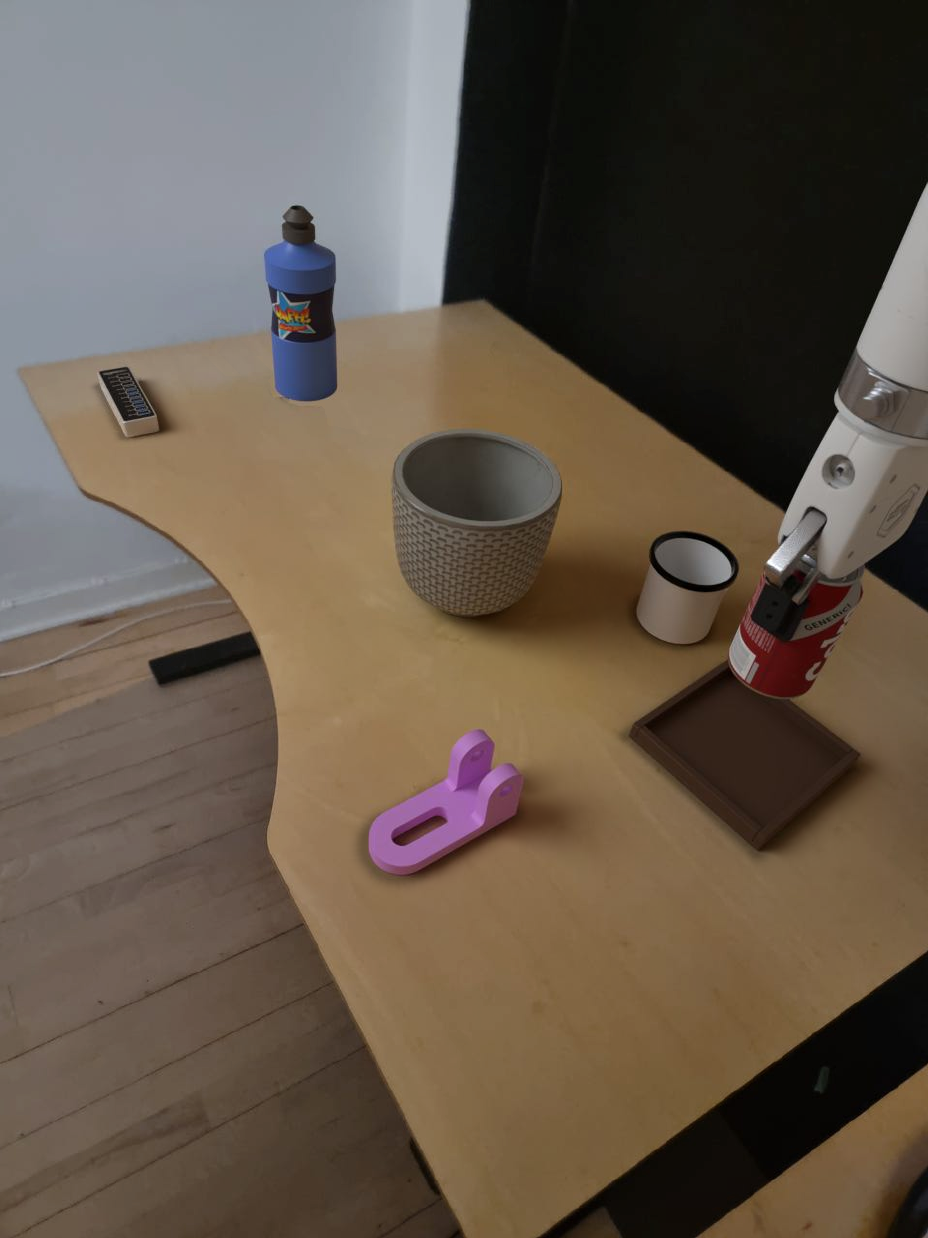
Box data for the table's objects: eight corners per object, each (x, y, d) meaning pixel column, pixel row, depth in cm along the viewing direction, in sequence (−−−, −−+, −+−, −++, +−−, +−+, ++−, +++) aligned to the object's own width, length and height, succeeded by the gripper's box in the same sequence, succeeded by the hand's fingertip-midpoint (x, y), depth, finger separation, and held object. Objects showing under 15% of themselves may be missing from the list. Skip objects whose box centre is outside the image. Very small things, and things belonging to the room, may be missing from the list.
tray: (852, 766, 83) (861, 753, 81) (757, 851, 75) (764, 839, 73) (726, 668, 91) (732, 655, 89) (628, 736, 83) (632, 723, 81)
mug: (664, 659, 91) (687, 597, 84) (614, 603, 97) (632, 541, 90) (748, 629, 95) (776, 568, 89) (696, 577, 101) (718, 516, 95)
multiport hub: (126, 437, 112) (122, 422, 110) (99, 385, 120) (96, 370, 118) (160, 431, 113) (157, 415, 112) (131, 380, 122) (128, 365, 120)
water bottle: (323, 407, 121) (317, 226, 104) (263, 393, 122) (246, 212, 105) (347, 377, 128) (345, 202, 110) (290, 364, 129) (279, 189, 112)
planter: (432, 526, 104) (441, 410, 93) (562, 575, 99) (588, 460, 88) (358, 609, 92) (358, 488, 81) (502, 669, 88) (523, 550, 77)
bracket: (479, 770, 78) (487, 723, 74) (515, 814, 75) (526, 768, 71) (356, 835, 72) (356, 789, 68) (390, 886, 69) (393, 841, 65)
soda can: (727, 696, 65) (781, 580, 57) (722, 635, 70) (771, 520, 62) (816, 711, 65) (883, 597, 57) (804, 649, 70) (864, 535, 61)
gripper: (889, 468, 44) (773, 693, 56) (1032, 381, 53) (904, 592, 65) (770, 404, 48) (686, 627, 60) (921, 333, 57) (820, 541, 69)
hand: (800, 607), depth 63 cm, fingers closed on soda can, 6 cm apart
